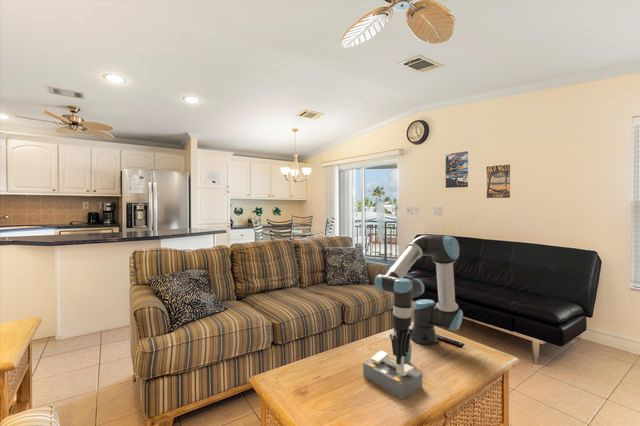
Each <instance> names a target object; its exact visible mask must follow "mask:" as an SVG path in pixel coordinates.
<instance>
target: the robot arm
mask: <svg viewBox="0 0 640 426" xmlns="http://www.w3.org/2000/svg"><path fill="white" fill-rule="evenodd" d="M423 256H425V257H432V262H433V263H434V264H435V271H436V282H437V283H436V285H437V295H438V296H437V297H438V298H437V299H438V302H435V300H433V299H418V300H416V301H415V302H414V303H413V302H412V300H413V299H415V298H418V297H420V296H421V295H423V294H424V292H425V284H424V282H423V281H422V280H421V279H418V278H413V279H409V278H405V276H406V274H407V273H408V271H409V270H410V269H411V267H412V266H413V265H414V264H415V263H416V261H417V260H419V259H421V258H422V257H423ZM459 256H460V245H459V242H458V240H457V238H455V237H454V236H448V235H436V234H423V235H420V236H418V237H415V238H414V239H412V240H411V241H410V242H408V243H407V245H406V246H405V250H404V251H403V252H402V253H401V255H400V256H399V257H398V258H397V260H396V261H394V263H393V264H392V266H391V267H390V268H389V269H388V270H387V271H386V272H385V274H382V273H381V274H377V275H376V277H375V278H374V287H375V289H377V290H378V291H382V292H385V293H391V294H393V304H392V305H393V307H392V314H393V315H392V324H393V325H394V328H393V332H392V333H390V334H389V338H390V341H391V348H392V349H391V350H392V354H393V356H395V358H396V356H397V358H396V359H395V360H396V363H397V368H396V370H398V371H400V372H404V365H405V364H404V360H405V356H407V354H406V353H408V350H409V344H410V342H411V341H412V342H414V343H417V344H419V345H424V346H430V345H435V344H437V342H438V336H437V333H436V332H437V331H436V329H435V326H437V327H440V328H444V329H446V330H447V329H448V330H451V331H455V332H456V331H458V330H459V329H460V327H461V324H462V322H463V317H464V312H463V310H462V309H459V305H458V303H456V292H455V276H454V275H455V274H454V263H455V262H456V261H457V259H458V258H459ZM412 303H413V304H414V305H413V326H412V317H411V316H412ZM411 326H412V328H410V327H411Z"/></svg>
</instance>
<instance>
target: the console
mask: <svg viewBox="0 0 640 426" xmlns="http://www.w3.org/2000/svg"><path fill="white" fill-rule="evenodd" d="M386 359H389V360H393V361H395V362H396V359H394V358H392V357H390V356H388V357H387V358H386ZM396 368H397V367H396V366H393V365H390V364H388V363H386V362H385V359H384V360H383V361H382V362H381V363H380V364H377V363H375V362H373V361H372V359H369V360H367V361H365V362H363V367H362V369H363V370H362V371H363V373H362V374H363V375H362V376H363V377H365V378H366V379H368V380H370V381H372V382H373V383H374V384H377V385H378V386H380V387H381V388H383V389H384V390H386V391H387V392H389V393H390V394H391V393H392V394H393V395H394V396H396V397H398V398H399V399H401V400H404V399H405V398H407V397H409V396H411V395H412V394H414V393H415V392H416V391H419V390H420V389H421V388H423V373H422V372H420V371H418V370H416V369H414V371H412V372H411V373H409V374H407V375H405V376H403V375H401V374H399V373H397V372H396Z"/></svg>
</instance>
